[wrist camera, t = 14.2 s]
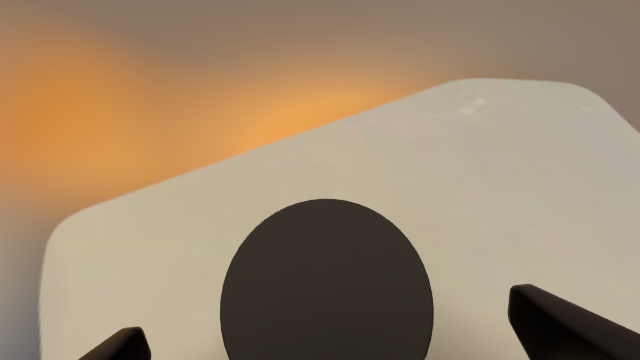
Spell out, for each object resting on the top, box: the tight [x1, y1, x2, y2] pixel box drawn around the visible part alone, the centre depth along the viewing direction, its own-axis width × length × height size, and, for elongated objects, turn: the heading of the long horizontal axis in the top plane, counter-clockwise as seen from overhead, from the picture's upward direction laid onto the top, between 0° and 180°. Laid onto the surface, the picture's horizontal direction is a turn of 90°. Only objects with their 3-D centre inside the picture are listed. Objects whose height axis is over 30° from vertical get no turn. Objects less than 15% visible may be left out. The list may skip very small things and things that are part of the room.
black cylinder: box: [220, 199, 434, 360], centre depth 13 cm, size 5×5×13 cm
